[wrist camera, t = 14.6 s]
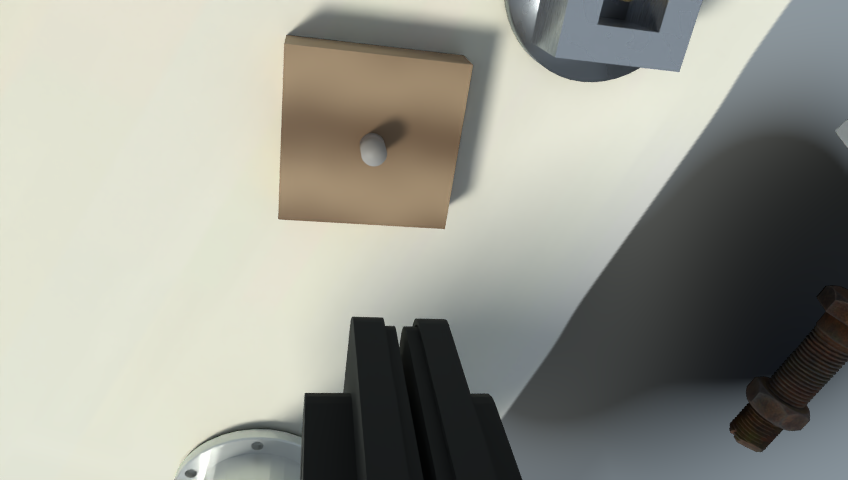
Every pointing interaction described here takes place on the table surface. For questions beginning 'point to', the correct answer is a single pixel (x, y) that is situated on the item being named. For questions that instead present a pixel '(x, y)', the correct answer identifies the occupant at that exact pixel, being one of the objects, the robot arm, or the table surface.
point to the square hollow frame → (617, 32)
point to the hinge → (843, 132)
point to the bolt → (796, 377)
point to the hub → (522, 20)
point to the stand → (369, 132)
